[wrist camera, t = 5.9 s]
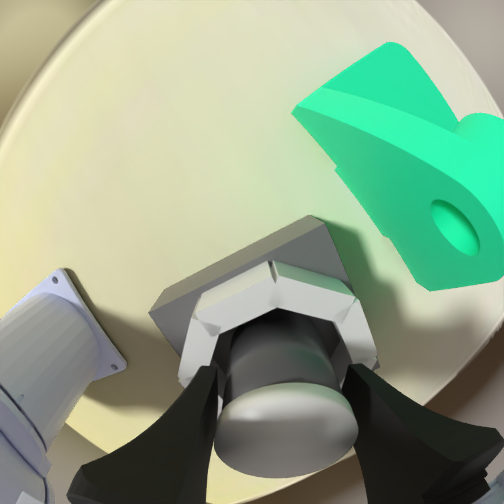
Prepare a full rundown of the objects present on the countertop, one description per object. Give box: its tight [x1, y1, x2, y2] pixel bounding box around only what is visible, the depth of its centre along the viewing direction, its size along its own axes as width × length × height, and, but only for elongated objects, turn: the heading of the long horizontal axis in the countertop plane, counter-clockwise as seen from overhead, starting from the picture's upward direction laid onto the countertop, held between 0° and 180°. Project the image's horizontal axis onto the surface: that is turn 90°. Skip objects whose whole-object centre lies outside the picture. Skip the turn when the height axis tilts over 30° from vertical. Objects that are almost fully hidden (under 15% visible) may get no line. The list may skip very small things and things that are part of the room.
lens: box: [214, 308, 358, 478], centre depth 10 cm, size 5×5×6 cm
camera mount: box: [291, 42, 504, 291], centre depth 9 cm, size 12×8×10 cm, turn 42°
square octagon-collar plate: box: [148, 215, 380, 420], centre depth 13 cm, size 9×9×5 cm
